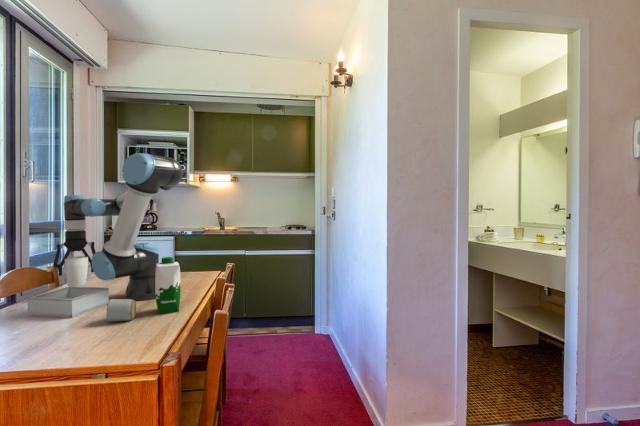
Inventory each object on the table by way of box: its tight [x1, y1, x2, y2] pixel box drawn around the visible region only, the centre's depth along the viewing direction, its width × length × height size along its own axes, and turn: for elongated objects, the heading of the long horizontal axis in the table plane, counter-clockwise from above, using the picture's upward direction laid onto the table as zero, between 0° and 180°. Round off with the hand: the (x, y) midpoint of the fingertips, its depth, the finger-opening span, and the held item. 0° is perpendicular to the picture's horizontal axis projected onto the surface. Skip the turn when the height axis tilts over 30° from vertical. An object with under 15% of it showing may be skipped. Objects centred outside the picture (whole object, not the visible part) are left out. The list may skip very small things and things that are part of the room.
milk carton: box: [155, 256, 181, 315], centre depth 134 cm, size 9×9×20 cm
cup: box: [63, 255, 90, 287], centre depth 154 cm, size 9×9×12 cm
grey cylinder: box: [105, 298, 137, 323], centre depth 124 cm, size 11×8×8 cm
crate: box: [27, 286, 110, 319], centre depth 136 cm, size 18×18×7 cm
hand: (77, 281), depth 154 cm, fingers closed on cup, 9 cm apart
